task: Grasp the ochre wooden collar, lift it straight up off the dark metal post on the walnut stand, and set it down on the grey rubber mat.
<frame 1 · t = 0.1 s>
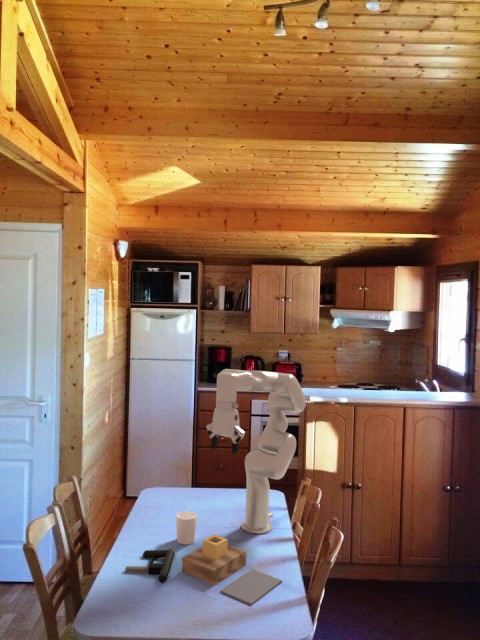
hand: (224, 451, 202), 37 cm above the table, tool pointing down, fingers open, 9 cm apart
stand: (214, 568, 187), on the table
mat: (251, 587, 175), on the table
white cup: (185, 541, 207), on the table
door handle: (151, 569, 186), on the table
collar: (214, 554, 186), point 5 cm above the table, touching stand
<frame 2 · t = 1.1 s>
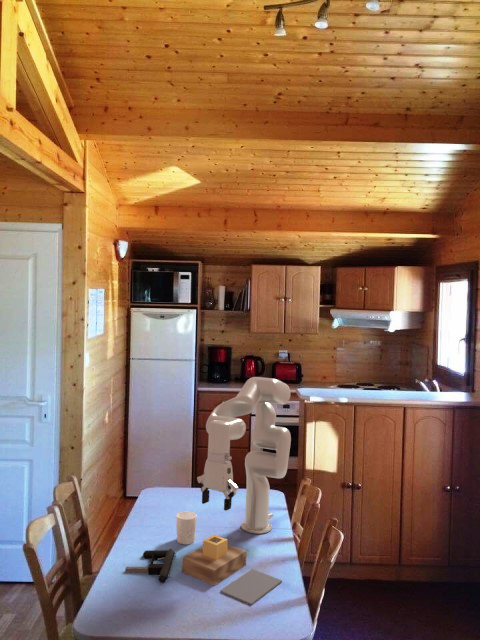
hand: (216, 506, 186), 22 cm above the table, tool pointing down, fingers open, 9 cm apart
nothing on the table moved.
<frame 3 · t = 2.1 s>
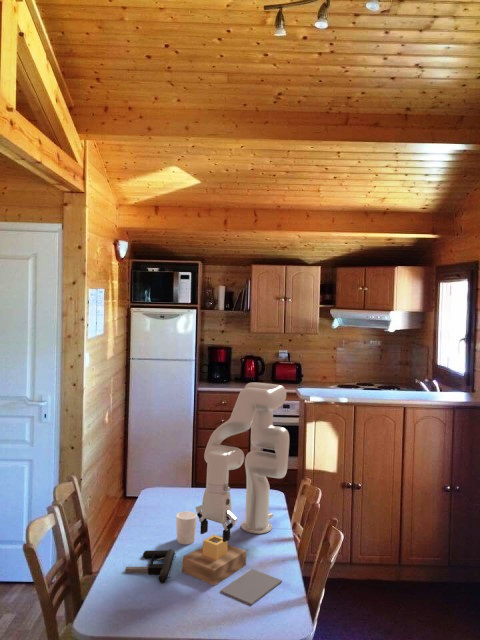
hand: (214, 536, 186), 11 cm above the table, tool pointing down, fingers open, 9 cm apart
nothing on the table moved.
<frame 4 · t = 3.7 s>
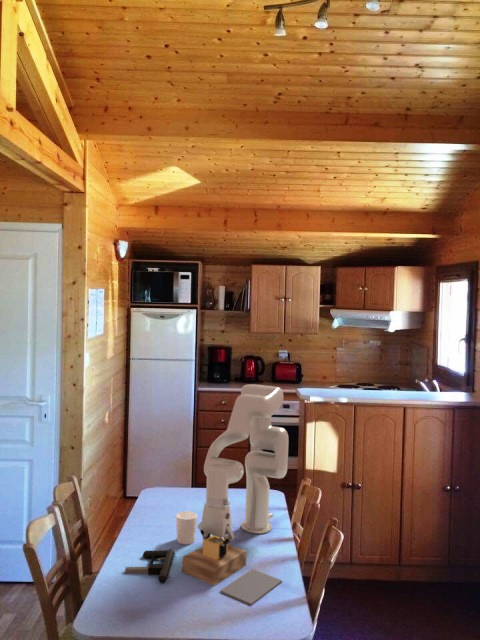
hand: (215, 552, 186), 6 cm above the table, tool pointing down, fingers closed on collar, 6 cm apart
collar: (214, 554, 186), point 5 cm above the table, touching gripper, stand
everything else where it was.
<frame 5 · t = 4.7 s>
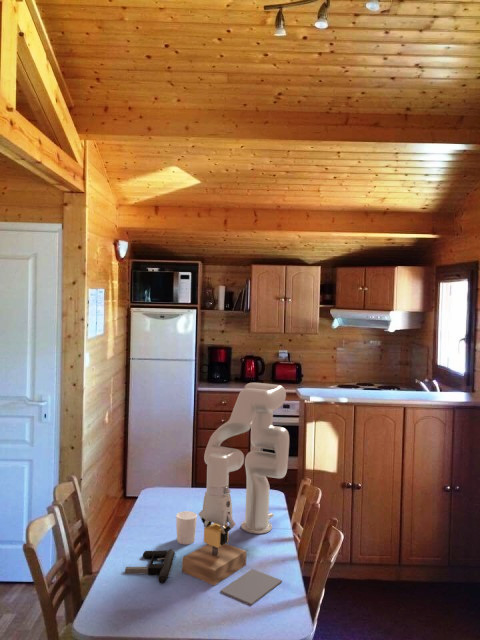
hand: (216, 540, 187), 10 cm above the table, tool pointing down, fingers closed on collar, 5 cm apart
collar: (216, 541, 187), point 9 cm above the table, touching gripper
everything else where it was.
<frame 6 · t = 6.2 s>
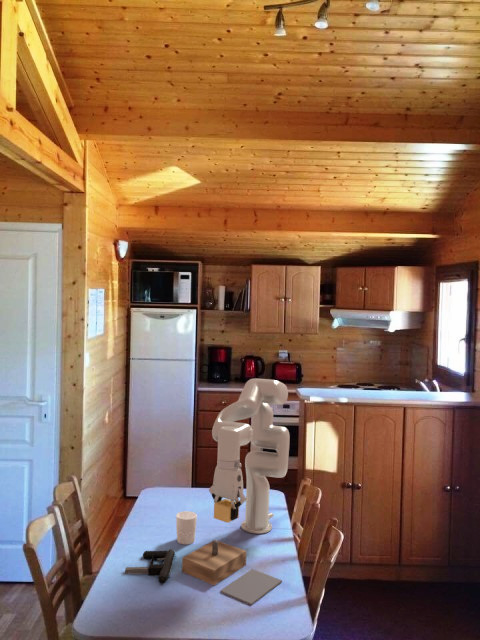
hand: (226, 516, 183), 20 cm above the table, tool pointing down, fingers closed on collar, 5 cm apart
collar: (226, 517, 183), point 19 cm above the table, touching gripper
everything else where it was.
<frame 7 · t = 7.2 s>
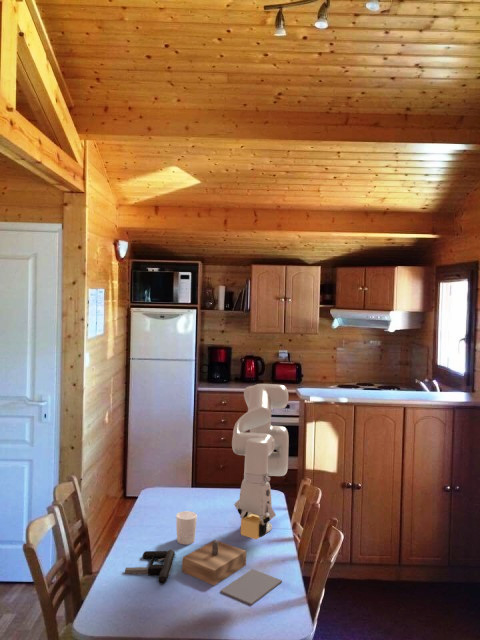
hand: (253, 532, 174), 18 cm above the table, tool pointing down, fingers closed on collar, 5 cm apart
collar: (253, 534, 174), point 18 cm above the table, touching gripper
everything else where it was.
when the fingers open (3 cm above the table, at t = 10.1 s): collar drops 2 cm, resting on mat.
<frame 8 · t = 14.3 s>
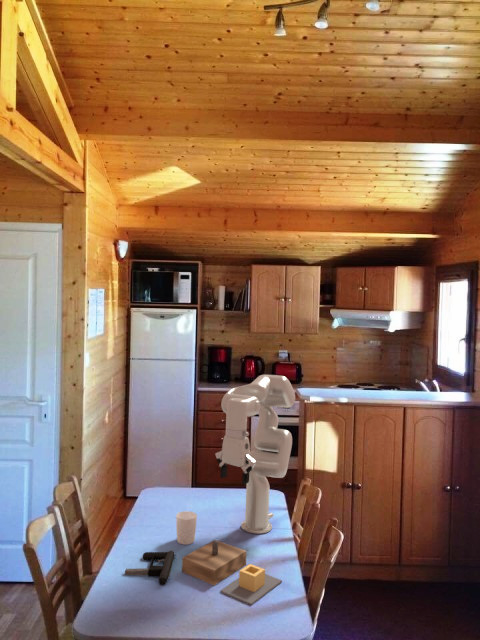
hand: (234, 480, 194), 28 cm above the table, tool pointing down, fingers open, 9 cm apart
collar: (251, 585, 175), point 1 cm above the table, touching mat
at the end: collar inside the target area on the mat (0.0 cm from its centre), point 0.6 cm above the mat's base; collar tilted 0°; the gripper is holding nothing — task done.
